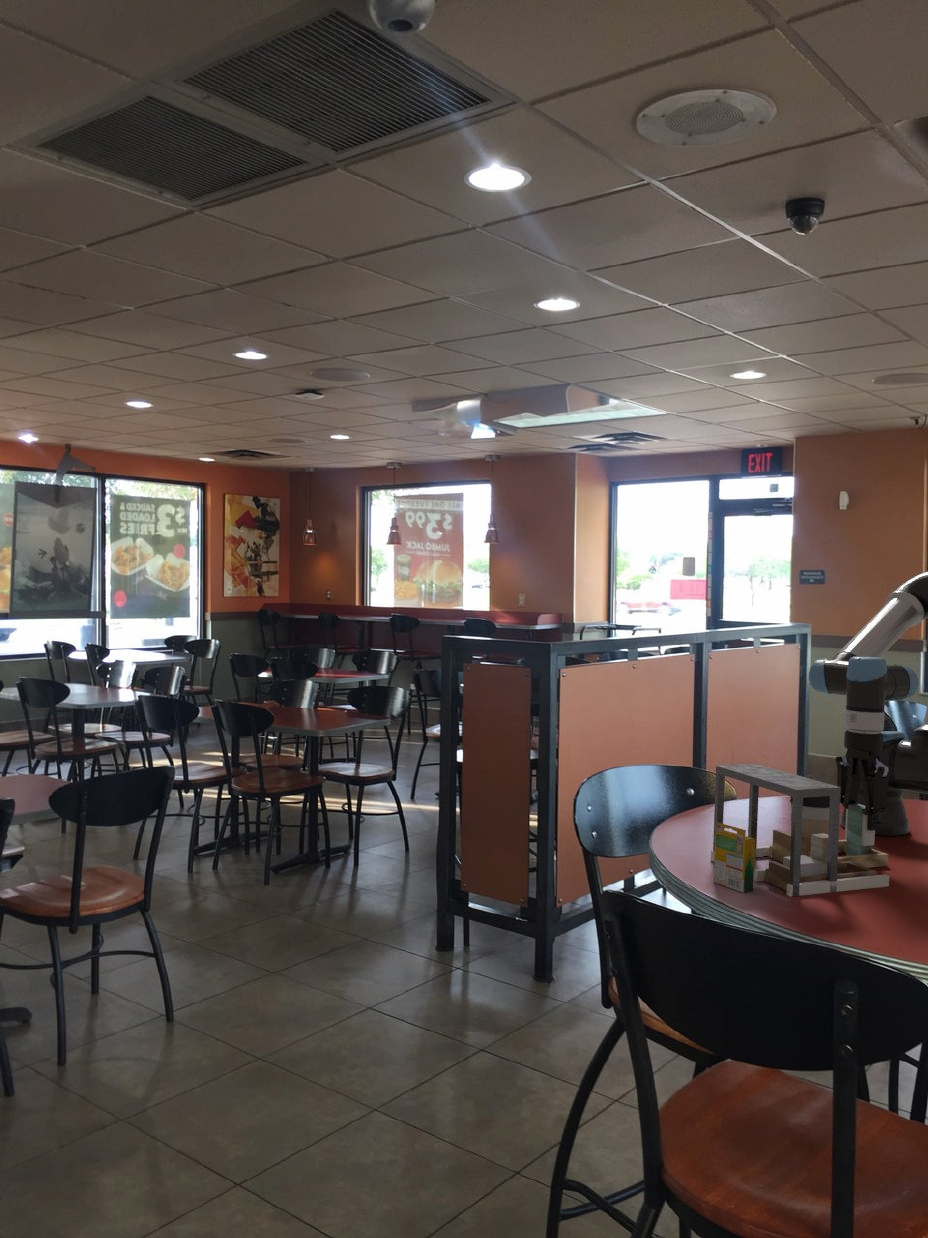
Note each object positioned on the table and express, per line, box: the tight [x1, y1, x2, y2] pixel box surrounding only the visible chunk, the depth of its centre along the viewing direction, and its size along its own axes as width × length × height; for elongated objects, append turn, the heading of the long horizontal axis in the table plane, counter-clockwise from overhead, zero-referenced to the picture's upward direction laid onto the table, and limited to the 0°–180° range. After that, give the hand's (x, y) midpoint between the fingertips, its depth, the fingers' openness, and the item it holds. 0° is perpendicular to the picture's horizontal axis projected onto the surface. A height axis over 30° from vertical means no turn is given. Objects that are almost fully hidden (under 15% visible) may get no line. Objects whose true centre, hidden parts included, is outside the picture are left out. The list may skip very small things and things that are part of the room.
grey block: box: [782, 855, 823, 877], centre depth 186 cm, size 5×5×5 cm
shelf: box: [712, 763, 841, 897], centre depth 192 cm, size 10×24×20 cm, turn 21°
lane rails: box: [710, 845, 890, 897], centre depth 194 cm, size 23×24×2 cm
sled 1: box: [768, 804, 889, 869], centre depth 203 cm, size 20×12×11 cm, turn 111°
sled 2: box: [765, 833, 879, 892], centre depth 187 cm, size 20×8×9 cm, turn 111°
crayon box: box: [713, 822, 756, 894], centre depth 184 cm, size 7×3×12 cm, turn 33°
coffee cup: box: [789, 796, 830, 841], centre depth 201 cm, size 9×9×15 cm
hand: (859, 842), depth 206 cm, fingers closed on sled 1, 4 cm apart
